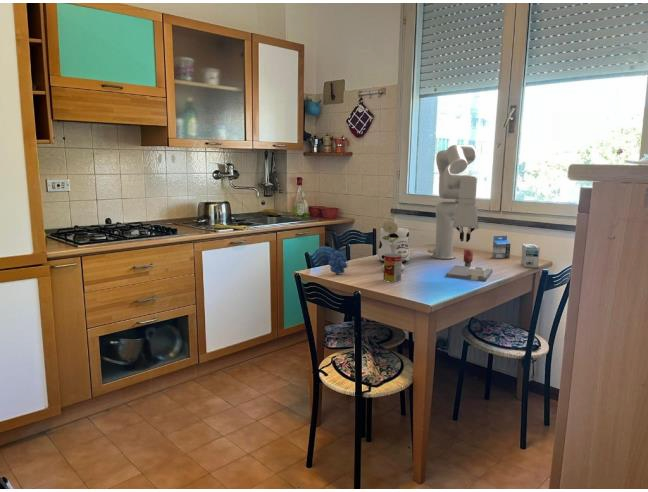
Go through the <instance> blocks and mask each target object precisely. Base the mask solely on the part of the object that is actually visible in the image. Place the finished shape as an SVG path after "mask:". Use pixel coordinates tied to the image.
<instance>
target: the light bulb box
mask: <svg viewBox="0 0 648 492" xmlns="http://www.w3.org/2000/svg"><path fill="white" fill-rule="evenodd" d="M540 250H541V248H540V247H539V246H537V244H535V243H534V244H533V243H522V248H521V259H520V260H521V261H520V263H521V265H522V266H523V267H525V268H533V269H535V268H536V269H537V268H539V262H540Z"/></svg>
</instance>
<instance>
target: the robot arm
mask: <svg viewBox="0 0 648 492" xmlns="http://www.w3.org/2000/svg"><path fill="white" fill-rule="evenodd" d="M476 157H477V150H476V148H475V146H474V145H471V144H455V145H454V144H453V145H450V146H449V147H448V148H447V149H442V150H439V151H438V152H437V153H436V157H435V161H436V166H437V170H438V175H439V176H438V177H439V179H438V180H439V181H438V195H439V198H441V199H443V200H455V201H440V202H438V203H436V205H435V220H436V221H435V222H436V223H435V227H436V229H435V245H434V246H435V247H434V248H433V249H432V248H428V249H427V252H428V253H431V254H432V255H431V257H432V258H434V259H439V260H452V259H455V258H456V255H455V254H453V246H454V230H455V229H456V231H458V232H459V240H460V242H464V239H466V240H465V242H466V243H468V242H469V241H470V240H471V233H472V232H473V231H476V230H479V229H480V226H479V223H478V222H479V219H478V217H479V215H478V213H479V212H478V205H477V204H476V200H477V184H478V183H477V182H478V177H477V175H476V174H475V175H474V174H472V173H463V172H465V170H466V169H467V168H468V166H469V165H470V164H472V163H473V162H474V161H475V159H476ZM451 219H453V223H452V222H451ZM464 228H467V232H466V235H465V232H464ZM465 236H466V237H465Z"/></svg>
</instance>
